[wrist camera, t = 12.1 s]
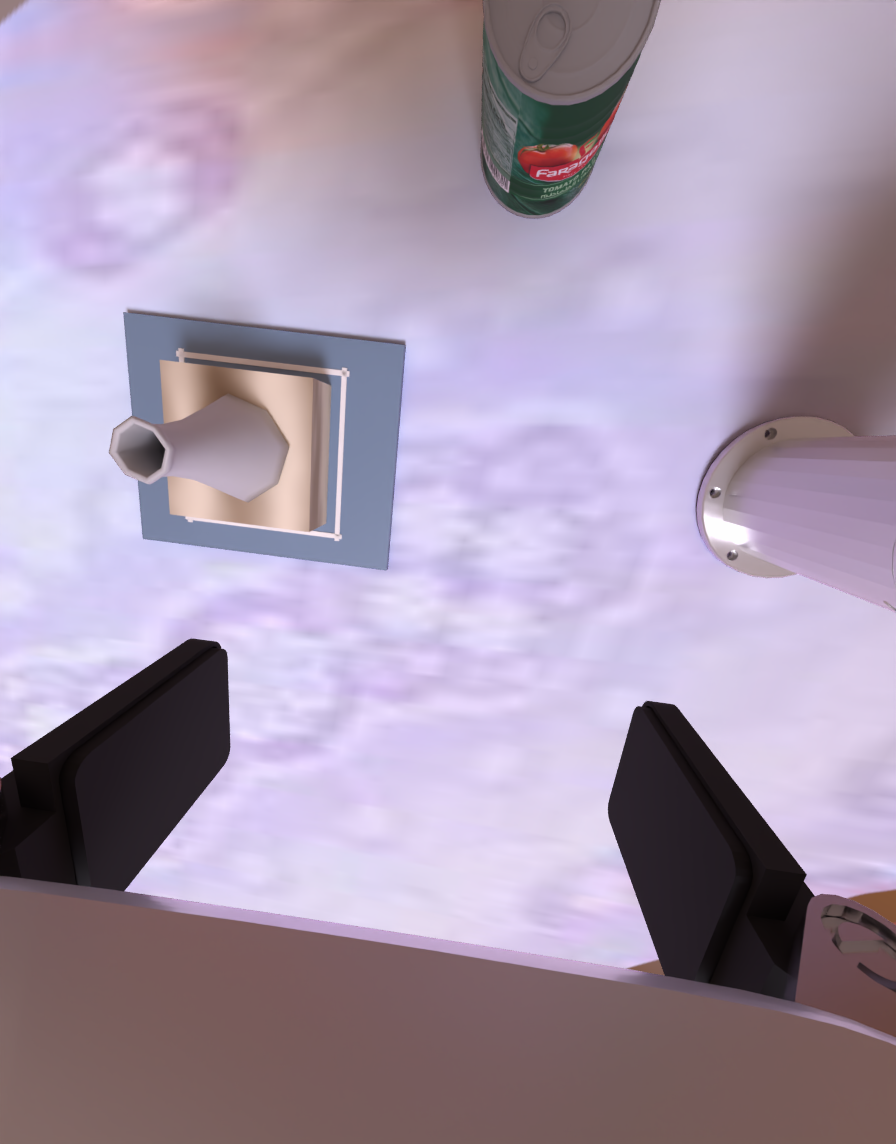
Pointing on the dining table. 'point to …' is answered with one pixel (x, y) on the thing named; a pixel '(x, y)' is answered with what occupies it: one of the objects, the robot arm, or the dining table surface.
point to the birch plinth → (297, 417)
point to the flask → (206, 448)
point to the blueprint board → (356, 443)
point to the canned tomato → (553, 93)
